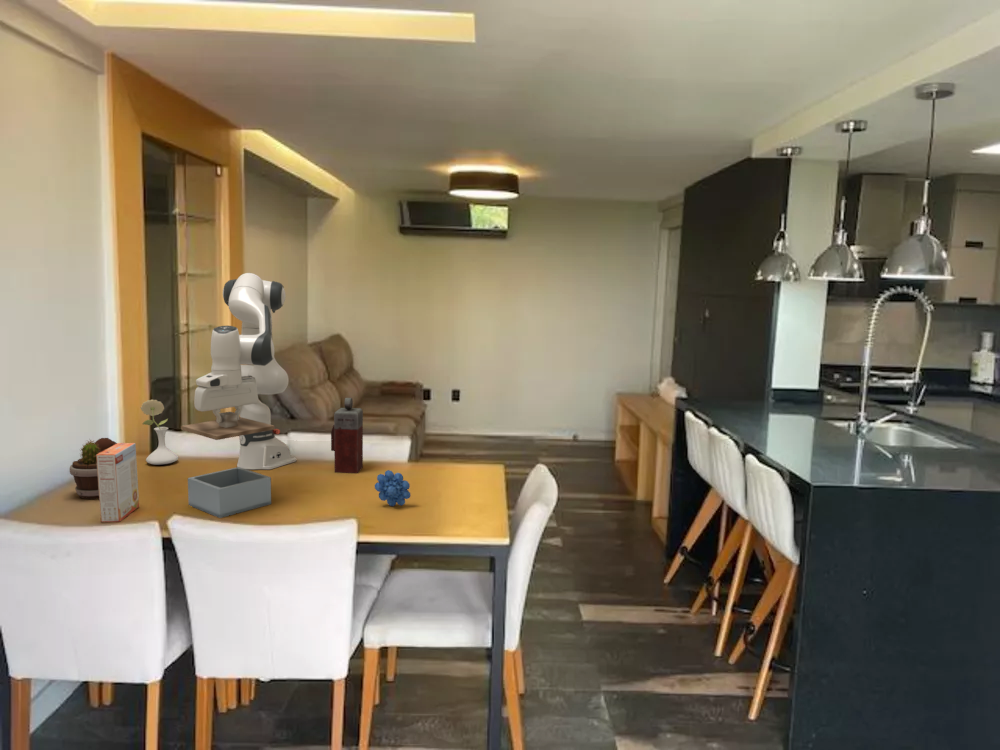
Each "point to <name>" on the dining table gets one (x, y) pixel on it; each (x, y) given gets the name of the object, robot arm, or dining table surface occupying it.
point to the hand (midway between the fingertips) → (228, 421)
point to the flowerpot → (86, 472)
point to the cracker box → (117, 482)
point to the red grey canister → (348, 438)
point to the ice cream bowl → (104, 444)
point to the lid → (227, 427)
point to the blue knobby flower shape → (392, 488)
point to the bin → (229, 491)
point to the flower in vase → (162, 452)
